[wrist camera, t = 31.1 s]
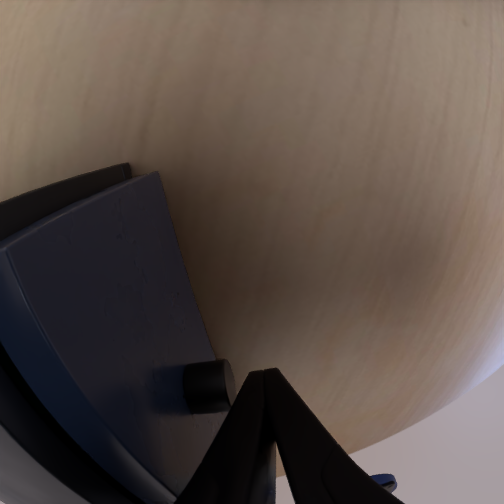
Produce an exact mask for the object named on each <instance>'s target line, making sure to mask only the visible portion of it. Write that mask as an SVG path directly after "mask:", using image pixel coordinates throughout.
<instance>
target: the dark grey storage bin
mask: <svg viewBox="0 0 504 504" xmlns="http://www.w3.org/2000/svg"><path fill="white" fill-rule="evenodd" d="M131 178H132V174H131V170H130V166H129V163H123V164H119V165H115V166H111V167H107V168H103V169H100V170H96V171H92V172H89V173H85V174H82V175H78V176H75V177H72V178H68V179H65V180H62V181H59V182H56V183H53V184H50V185H47V186H44V187H41V188H38V189H35V190H32V191H29V192H27V193H24V194H21V195H19V196H16V197H13V198H11V199H8V200H6V201H3V202H1V203H0V241H2V240H4V239H5V238H7V237H9V236H11V235H12V234H14V233H16V232H18V231H20V230H21V229H23V228H25V227H27V226H29V225H31V224H33V223H34V222H36V221H38V220H40V219H42V218H44V217H46V216H48V215H50V214H52V213H54V212H56V211H58V210H60V209H62V208H64V207H66V206H68V205H70V204H73V203H75V202H77V201H79V200H81V199H83V198H86V197H88V196H90V195H92V194H95V193H97V192H99V191H101V190H104V189H106V188H108V187H111V186H113V185H116V184H118V183H120V182H123V181H125V180H128V179H131ZM0 500H1V501H2V502H4V503H5V504H135V503H133V502H132V501H131V500H129V499H128V498H126V497H125V496H124V495H122V494H121V493H120V492H119V491H117V490H116V489H115V488H113V487H112V486H111V485H110V484H108V483H107V482H106V481H105V480H104V479H102V478H101V477H100V476H99V475H98V474H97V473H95V472H94V471H93V470H92V469H91V468H90V467H89V466H88V465H86V464H85V463H84V462H83V461H82V460H81V459H80V458H79V457H78V456H77V455H76V454H75V453H74V452H73V451H72V450H71V449H70V448H69V447H68V446H67V445H66V444H65V443H64V442H63V441H62V440H61V439H60V438H59V437H58V436H57V435H56V434H55V433H54V431H53V430H52V429H51V428H50V427H49V426H48V425H47V424H46V423H45V421H44V420H43V419H42V418H41V417H40V416H39V414H38V413H37V412H36V411H35V409H34V408H33V407H32V406H31V405H30V403H29V402H28V401H27V399H26V398H25V397H24V396H23V394H22V393H21V392H20V390H19V389H18V387H17V386H16V385H15V383H14V382H13V380H12V379H11V378H10V376H9V375H8V373H7V372H6V370H5V369H4V367H3V366H2V364H1V363H0Z"/></svg>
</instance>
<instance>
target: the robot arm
mask: <svg viewBox="0 0 504 504" xmlns="http://www.w3.org/2000/svg"><path fill="white" fill-rule="evenodd" d="M276 444H277V447H278V450H279V454H280V457H281V460H282V464H283V467H284V470H285V473H286V477H287V480H288V483H289V486H290V489H291V492H292V496H293V498H294V502H295V504H404V503H403V502H402V501H400V500H399V499H397V498H396V497H395V496H394V495H392V494H391V491H392V490H393V488H394V486H395V481H389V482H387V483H384V484H381V485H380V484H379V483H377V482H376V481H375V480H374V479H372V478H371V477H370V476H369V475H368V474H367V473H365V472H364V471H363V470H362V469H361V468H360V467H359V466H358V465H357V464H356V463H355V462H354V461H353V460H352V459H351V458H350V457H349V456H348V454H347V453H346V452H345V451H344V450H343V449H342V447H341V446H340V445H339V444H337V442H336V441H335V439H334V438H333V437H332V436H331V435H330V433H329V432H328V431H327V430H326V428H325V427H324V426H323V425H322V424H321V422H320V421H319V420H318V419H317V417H316V416H315V415H314V414H313V412H312V411H311V410H310V409H309V407H308V406H307V405H306V404H305V402H304V401H303V400H302V399H301V397H300V396H299V395H298V394H297V392H296V391H295V390H294V389H293V387H292V386H291V385H290V383H289V382H288V381H287V380H286V378H285V377H284V376H283V374H282V373H281V372H280V370H279V369H278V368H276V367H275V368H269V369H264V370H258V371H251V372H249V374H248V376H247V377H246V379H245V381H244V383H243V385H242V387H241V389H240V391H239V393H238V395H237V397H236V399H235V401H234V403H233V404H232V406H231V408H230V410H229V412H228V414H227V416H226V418H225V419H224V421H223V423H222V425H221V427H220V429H219V431H218V432H217V434H216V436H215V438H214V440H213V441H212V443H211V445H210V447H209V449H208V450H207V452H206V454H205V456H204V457H203V459H202V463H200V464H199V466H198V468H197V469H196V471H195V473H194V475H193V476H192V478H191V479H190V481H189V482H188V484H187V486H186V487H185V489H184V490H183V491H182V492H181V494H180V495H179V496H178V498H177V499H176V500H175V502H174V503H173V504H275V498H276Z"/></svg>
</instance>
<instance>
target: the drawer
mask: <svg viewBox="0 0 504 504" xmlns="http://www.w3.org/2000/svg"><path fill="white" fill-rule="evenodd" d="M0 342H1V344H2V346H3V347H4V349H5V351H6V352H7V354H8V356H9V357H10V359H11V360H12V362H13V363H14V365H15V366H16V368H17V370H18V371H19V372H20V374H21V375H22V377H23V378H24V380H25V381H26V383H27V384H28V385H29V387H30V388H31V390H32V391H33V392H34V394H35V395H36V396H37V398H38V399H39V400H40V401H41V403H42V404H43V405H44V406H45V408H46V409H47V410H48V411H49V413H50V414H51V415H52V416H53V417H54V419H55V420H56V421H57V422H58V423H59V424H60V426H61V427H62V428H63V429H64V430H65V431H66V432H67V433H68V434H69V436H70V437H71V438H72V439H73V440H74V441H75V442H76V443H77V444H78V445H79V446H80V447H81V448H82V449H83V450H84V451H81V450H77V449H73V448H70V447H69V448H70V449H71V450H72V451H73V452H74V453H75V454H76V455H77V456H78V457H79V458H80V459H81V460H82V461H83V462H84V463H85V464H86V465H88V466H89V467H90V468H91V469H92V470H93V471H94V472H95V473H97V474H98V475H99V476H100V477H101V478H102V479H104V480H105V481H106V482H107V483H108V484H110V485H111V486H112V487H113V488H115V489H116V490H117V491H119V492H120V493H121V494H122V495H124V496H125V497H126V498H128V499H129V500H131V501H132V502H133V503H135V504H173V503H174V502H175V500H176V499H177V498H178V496H179V495H180V494H181V492H182V491H183V490H184V489H185V487H186V486H187V484H188V482H189V481H190V479H191V478H192V476H193V475H194V473H195V471H196V469H197V468H198V466H199V464H200V463H202V459H203V457H204V456H205V454H206V452H207V450H208V449H209V447H210V445H211V443H212V441H213V440H214V438H215V436H216V434H217V432H218V431H219V429H220V427H221V425H222V423H223V421H224V419H225V418H226V416H227V414H228V412H229V410H230V408H231V406H232V404H233V403H234V401H235V399H236V397H237V395H236V386H235V380H234V376H233V372H232V369H231V366H230V364H229V362H228V361H227V360H226V359H220V360H216V358H215V355H214V353H213V350H212V347H211V344H210V341H209V339H208V336H207V333H206V330H205V327H204V324H203V321H202V318H201V315H200V312H199V309H198V306H197V303H196V300H195V297H194V294H193V291H192V288H191V285H190V281H189V278H188V275H187V272H186V269H185V265H184V262H183V259H182V255H181V252H180V249H179V245H178V242H177V238H176V235H175V231H174V228H173V224H172V220H171V217H170V213H169V209H168V206H167V202H166V198H165V194H164V190H163V186H162V182H161V178H160V174H159V172H158V171H155V172H152V173H148V174H145V175H141V176H138V177H134V178H131V179H128V180H125V181H123V182H120V183H118V184H116V185H113V186H111V187H108V188H106V189H104V190H101V191H99V192H97V193H95V194H92V195H90V196H88V197H86V198H83V199H81V200H79V201H77V202H75V203H73V204H70V205H68V206H66V207H64V208H62V209H60V210H58V211H56V212H54V213H52V214H50V215H48V216H46V217H44V218H42V219H40V220H38V221H36V222H34V223H33V224H31V225H29V226H27V227H25V228H23V229H21V230H20V231H18V232H16V233H14V234H12V235H11V236H9V237H7V238H5V239H4V240H2V241H0Z"/></svg>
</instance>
